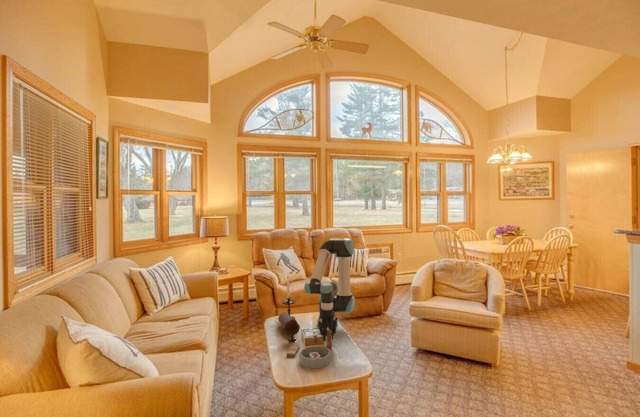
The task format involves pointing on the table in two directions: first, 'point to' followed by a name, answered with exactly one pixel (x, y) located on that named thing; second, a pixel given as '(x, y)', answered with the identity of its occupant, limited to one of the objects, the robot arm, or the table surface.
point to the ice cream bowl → (291, 329)
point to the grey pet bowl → (314, 356)
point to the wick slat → (329, 339)
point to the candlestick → (288, 300)
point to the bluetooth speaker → (284, 318)
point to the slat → (293, 351)
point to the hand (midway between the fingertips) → (328, 345)
